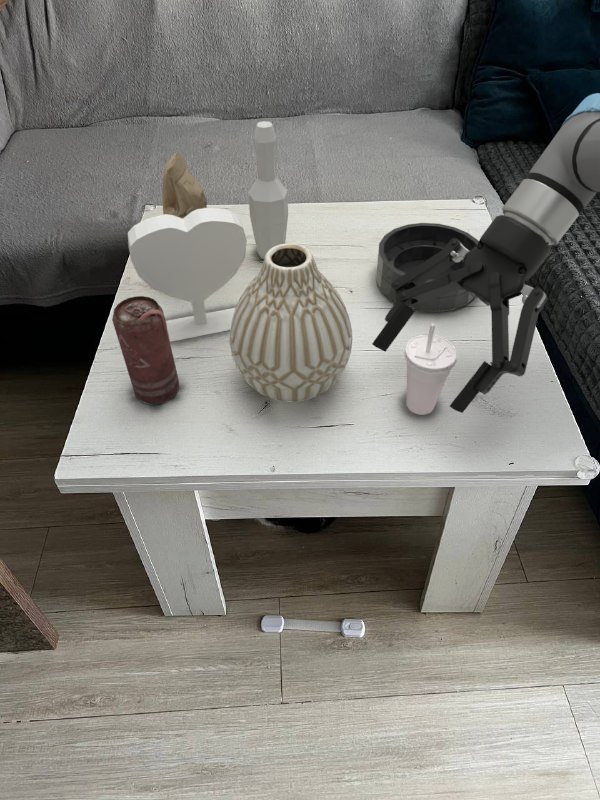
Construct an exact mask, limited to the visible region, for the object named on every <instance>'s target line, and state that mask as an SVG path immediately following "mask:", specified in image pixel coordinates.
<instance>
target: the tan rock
mask: <svg viewBox="0 0 600 800" xmlns="http://www.w3.org/2000/svg"><path fill="white" fill-rule="evenodd" d="M207 204H208V199H207V197H206V194H205V190H204V187H203V186H202V184H201V182H199V180H197V179H196V177H195V175H193V173H192V172H191V170H190V169H189V168H188V165H187V161H186V157H185V156H184V155H183V154H182V153H180V152H175V153H174V154H172V156H171V158H169V159H168V161H167V163H166V164H165V167H164V172H163V178H162V215H164V214H168V215H174V216H176V217H179V218H182V219H183V218H184V217H186V216H187V215H188V214H189V213H191V212H192V211H194V210H196V209H203V208H208V205H207Z"/></svg>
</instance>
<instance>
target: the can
mask: <svg viewBox="0 0 600 800" xmlns="http://www.w3.org/2000/svg"><path fill="white" fill-rule="evenodd" d="M111 321H112V324H113V328H114V331H115V333H116V337H117V340H118V343H119V347H120V350H121V353H122V357H123V360H124V364H125V367H126V370H127V373H128V377H129V380H130V384H131V386H132V390H133V393H134V396H135V397H136V398H137V399H138V400H139V401H141V402H143V403H145V404H148V405H152V406H153V405H161V404H164V403H167V402H168V401H170V400H172V399H173V398H174V397H175V395H176V394H177V392H178V390H179V388H180V381H179V376H178V371H177V366H176V363H175V362H176V361H175V358H174V353H173V349H172V343H171V342H170V340H169V335H168V330H167V324H166V321H167V320H166V317H165V312H164V309H163V307H162V306H161V305H160V304H159V302H158V301H156V299H154V298H151V297H149V296H145V295H139V296H138V295H137V296H131V297H128V298H126V299H123V300H122V301H120V302H119V303H118V304H116V306H115V307H114V309H113V313H112V319H111Z"/></svg>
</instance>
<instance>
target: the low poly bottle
mask: <svg viewBox="0 0 600 800" xmlns="http://www.w3.org/2000/svg"><path fill="white" fill-rule="evenodd" d="M277 141H278V140H277V134H276V131H275V128H274V125H273V123H272V122H271V121H267V120H263V121H258V122H257V123H256V126H255V130H254V135H253V143H254V150H255V156H256V167H257V178H256V180H255V181H254V183H253V184H252V186H251V188H250V190H249V191H248V193H247V194H248V195H247V196H248V209H249V210H248V211H249V218H250V225H251V229H252V233H253V236H254V237H253V238H254V242H255V246H256V251H257V254H258V257H260V258H261V260H264V258H265V256H266V253H267V252H268V251H269V250H270V249H271V248H273V247H275V246H277V245H280V244H286V241H287V240H286V239H287V231H288V221H289V193H288V192H289V191H288V189H287V188H286V187H285V185H283V183H282V182H281V180H280V179H279V178H278V177H277V160H276V159H277V157H276V156H277Z"/></svg>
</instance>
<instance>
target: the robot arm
mask: <svg viewBox="0 0 600 800" xmlns="http://www.w3.org/2000/svg"><path fill="white" fill-rule="evenodd" d="M596 194H600V92H596V93H592V94H589V95H588V96H586V97H584V99H583V100H582V101H581V102H580V103H579V105H578V106H577V107H576V108H575V109H574V111H573V112H572V113H571V114H569V116H567V118H565V120H564V122H563V123H562V124H561V126H560V129H559V130H558V131H557V132H556V134H555V135H554V137H553V138H552V140H551V141H550V143H549V144H548V145H547V147H546V148H545V150H543V152H542V154H541V155H540V156H539V158H538V159H537V161H536V162H535V163H534V164H533V166H532V167H531V169H530V170H529V171H528V173H527V174H526V175H525V177H524V178H523V180H522V181H521V183H520V184H519V185H518V186H517V187H516V189H515V190H514V192H513V193H512V194H511V196H510V197H509V198H508V199H507V201H506V202H505V204H503V206H502V208H501V209H502V214H499V215H496V216H495V218H494V219H493V220H492V222H491V223H490V224H489V225H488V227H487V228H486V230H485V231H484V232H483V234H482V235H481V236H480V238H479V239H478V241H479V242H478V244H477V246H476V247H475V248H474V249H472V250H470V251H469V250H468V249H466V248H465V247H464V246H463V245H462V244H461V242H460V241H459V240H458V239H456V238H453V239H451V240H450V241H449V243H448V244H447V245H446V246H445V247H444V248H443V249H442V251H440V252H439V253H437V254H436V255H434V256H433V257H431V258H429V259H428V260H426V261H425V262H423V263H422V264H420V265H419V266H417V267H415V268H414V269H412V270H411V271H409V272H408V273H406V274H405V275H403V276H401V277H400V278H398V279H397V280H395V281H394V282H393V283H392V288H393V289H395V291H396V293H397V295H398V299H397V301H396V302H394V304H393V305H392V307H391V308H390V310H389V311H388V312H387V314H386V315H385V317H384V321H385V322H386V324H385V325H384V326H383V328H382V329H381V331H380V332H379V334H378V335H377V336H376V338H375V339H374V340H373V342H372V343H371V345H373V346H374V347H375V348H376V349H379V350H381V351H382V352H387V350H388V349H389V348H390V346H391V345H392V344H393V342H394V341H395V340H396V338H397V337H398V335H399V334H400V333H401V331H402V330H403V329H404V327H405V326H406V324H407V323H408V322H409V321H410V319H411V318H412V316H413V315H414V313H415V311H416V310H415V309H412V308H410V307H414V306H412V305H415V304H418V303H421V302H424V301H427V300H429V299H432V298H435V297H438V296H441V295H444V294H447V293H450V292H453V291H456V290H459V291H460V290H466V291H467V292H468V293H469V294H470V295H472V296H474V297H475V298H477V299H479V301H481V302H482V303H483V304H484V305H486V306H488V307H489V308H490V313H491V360H492V361H490V362H487V361H485V360H484V361H483V362H482V363H481V365H480V366H479V368H477V370H476V371H475V372H474V374H473V375H472V377H470V379H469V380H468V382H467V383H466V384H465V385H464V387H463V388H462V389H461V391H459V393H458V394H457V396H456V397H455V398H454V399H453V400H452V402H451V403H450V405H449V407H450V408H451V409H452V410H453V411H456V412H458V413H460V414H463V413H464V412H465V411H466V410H467V408H468V407H469V405H470V404H471V403H472V402H473V400H474V399H475V398H476V396H477V395H478V394H479V393H481V394H482V395H487V394H488V393H489V392H490V391H491V390H492V388H494V386H495V385H496V384H497V382H498V381H499V380H500V379H501V377H502V376H503V375H505V374H510V375H514V376H516V377H523V376H524V375H525V374H526V370H527V368H528V367H527V366H528V362H529V358H530V357H529V356H530V353H531V348H532V344H533V339H534V336H535V331H536V326H537V322H538V318H539V317H538V316H539V315H540V312H541V311H542V309H543V308H544V306H545V305H546V303H547V301H548V295H547V294H546V293H545V292H544V290H543V288H541V287H539V286H535V287H532V286H531V285H528V282H529V280H530V278H531V277H532V276H534V275H535V274H536V272H537V271H538V269H539V268H540V267H541V266H542V264H543V263H544V262H545V260H546V259H547V258H548V256H549V255H550V254H551V246H554V245H558V243H559V242H561V239H562V238H563V237H564V235H565V234H566V233H567V231H568V230H569V229H570V228H571V226H572V225H573V224H574V223H575V221H576V220H577V219H578V217H579V216H580V215H581V213H582V212H583V211H584V210H585V208H586V207H587V206H588V205H589V204H590V203H591V201H592V200H593V198H594V197H595V196H596ZM462 259H464V260H463V268H461V269H458V270H455V271H453V272H450V273H449V274H448V275H447V276H444V277H441V278H438V279H436V280H433V281H430V282H427V283H425V282H426V281H428V280H429V279H431V278H433V277H434V276H436V275H437V274H439V273H441V272H442V271H444V270H445V269H447V268H449V267H450V266H452V265H453V264H454V263H455V262H460V261H461V260H462ZM423 283H424V284H423ZM421 284H422V285H421ZM521 295H522V297H521V303H522V304H523V305H522V307H521V310H520V315H519V319H518V323H517V329H516V332H515V337H514V340H513V341H514V342H513V346H512V350H511V355H510V339H509V338H510V337H509V335H510V334H509V333H510V332H509V316H510V300H511V299H514V298H517V297H519V296H521ZM409 306H410V307H409ZM489 363H490V364H489Z"/></svg>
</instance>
